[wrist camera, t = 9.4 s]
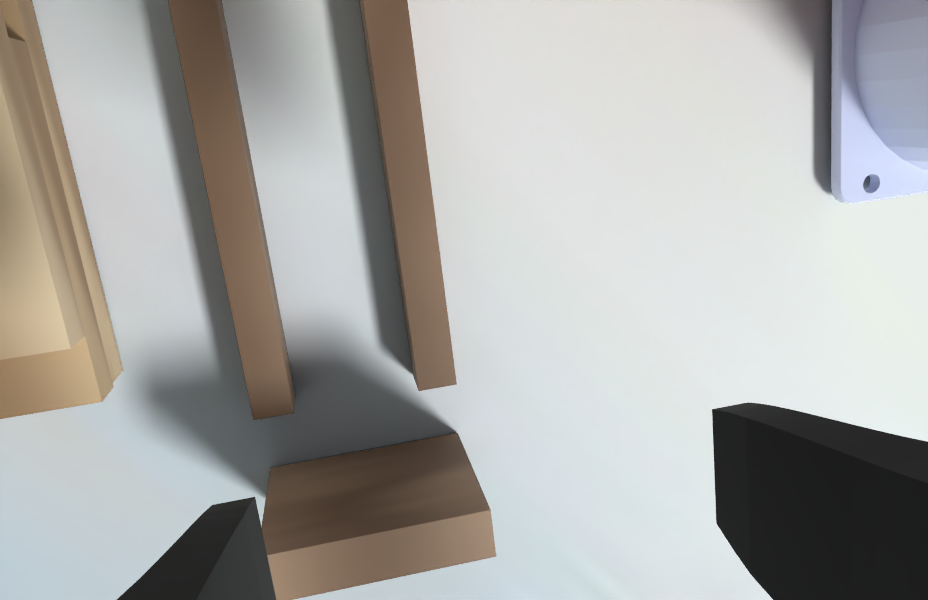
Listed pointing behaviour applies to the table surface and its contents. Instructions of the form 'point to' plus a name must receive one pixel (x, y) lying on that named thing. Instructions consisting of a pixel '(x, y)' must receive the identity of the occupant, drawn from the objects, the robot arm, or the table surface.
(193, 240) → the table surface
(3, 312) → the offcut stack
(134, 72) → the table surface
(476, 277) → the table surface
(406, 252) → the walnut rack
